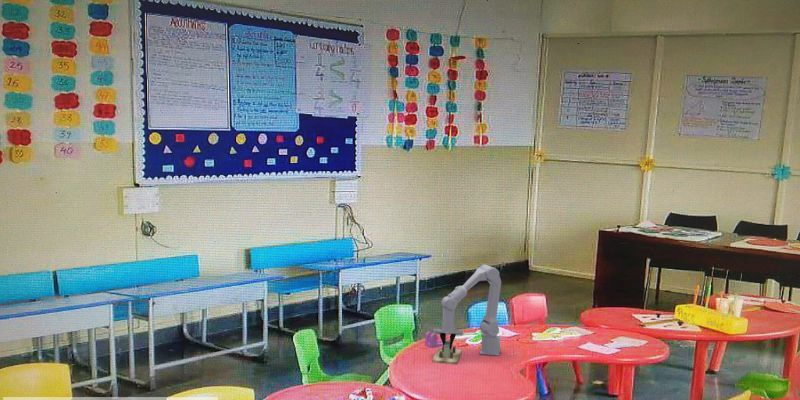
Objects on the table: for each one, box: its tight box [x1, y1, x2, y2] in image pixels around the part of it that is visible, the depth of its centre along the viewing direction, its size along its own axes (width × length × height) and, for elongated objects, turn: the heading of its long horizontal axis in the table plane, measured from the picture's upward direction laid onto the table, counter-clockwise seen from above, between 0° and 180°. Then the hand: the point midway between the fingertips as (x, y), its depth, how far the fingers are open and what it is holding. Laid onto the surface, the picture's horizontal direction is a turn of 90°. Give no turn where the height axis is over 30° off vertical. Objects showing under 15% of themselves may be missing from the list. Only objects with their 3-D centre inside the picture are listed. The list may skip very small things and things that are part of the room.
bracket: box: [424, 331, 443, 349], centre depth 378 cm, size 13×6×7 cm, turn 123°
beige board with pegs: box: [431, 346, 463, 365], centre depth 358 cm, size 12×20×4 cm, turn 168°
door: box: [444, 339, 451, 358], centre depth 358 cm, size 2×10×6 cm, turn 169°
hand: (447, 348), depth 358 cm, fingers closed on door, 2 cm apart
